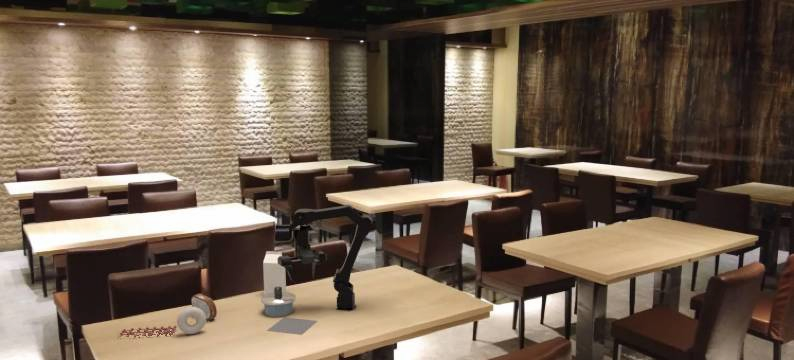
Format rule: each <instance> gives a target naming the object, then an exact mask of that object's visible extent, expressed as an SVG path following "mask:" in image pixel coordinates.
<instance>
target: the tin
mask: <svg viewBox="0 0 794 360" xmlns="http://www.w3.org/2000/svg"><path fill="white" fill-rule="evenodd" d="M190 300H191V307H197V308H200V309H201V310H202V311H203V312H204V313H205V316H206V321H209V320H210V321H211V320H213V319H215V318H216V317H217V315H218V313H217V312H218V311H217V306H216V303H215V301H214V300H213V299H212V298H211V297H209V296H207V295H204V294H202V293H197V294H194V295H193V296H191V299H190Z"/></svg>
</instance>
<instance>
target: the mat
mask: <svg viewBox="0 0 794 360" xmlns="http://www.w3.org/2000/svg"><path fill="white" fill-rule="evenodd" d="M316 323H318V320H315V319H314V320H313V319H304V318H296V317H295V318H294V317H286V316H283V317H282V318H281V319H280V320H279V321H277V322H275V324H274V325H272V326H271V327H269V328H268V329H267V330H266V331H267V332H272V333H273V332H274V333H281V334H282V333H284V334H292V335H300V336H302V335H303V334H305V333H306V332H307V331H308V330H309V329H311V327H313V326H314V325H315V324H316Z"/></svg>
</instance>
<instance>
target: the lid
mask: <svg viewBox="0 0 794 360" xmlns="http://www.w3.org/2000/svg"><path fill="white" fill-rule="evenodd" d="M296 299H297V296H296V294H294V293H291V292H290V291H286V292H282V287H274V293H269V294H266V295H264V294H263V295H262V296H261V297H260V303H261V304H263V305H264V304H266V305H284V304H288V303H291V302H292V303H294V302H295V301H296Z"/></svg>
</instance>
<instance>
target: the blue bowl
mask: <svg viewBox="0 0 794 360" xmlns="http://www.w3.org/2000/svg"><path fill="white" fill-rule="evenodd" d="M293 303H294V302H291V303H288V304H284V305H266V304H263V306H264V315H265V316H267V317H272V318H279V317H286V316H288V315H291V314H292V313H293V311H294V308H293Z"/></svg>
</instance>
